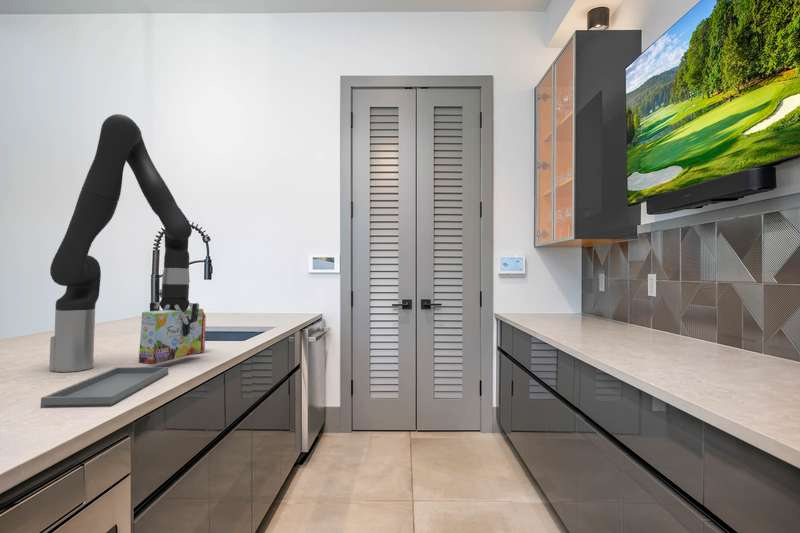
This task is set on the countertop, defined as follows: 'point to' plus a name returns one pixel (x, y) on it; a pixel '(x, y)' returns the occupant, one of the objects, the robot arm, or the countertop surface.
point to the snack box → (168, 336)
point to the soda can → (203, 333)
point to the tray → (105, 387)
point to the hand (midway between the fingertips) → (173, 335)
